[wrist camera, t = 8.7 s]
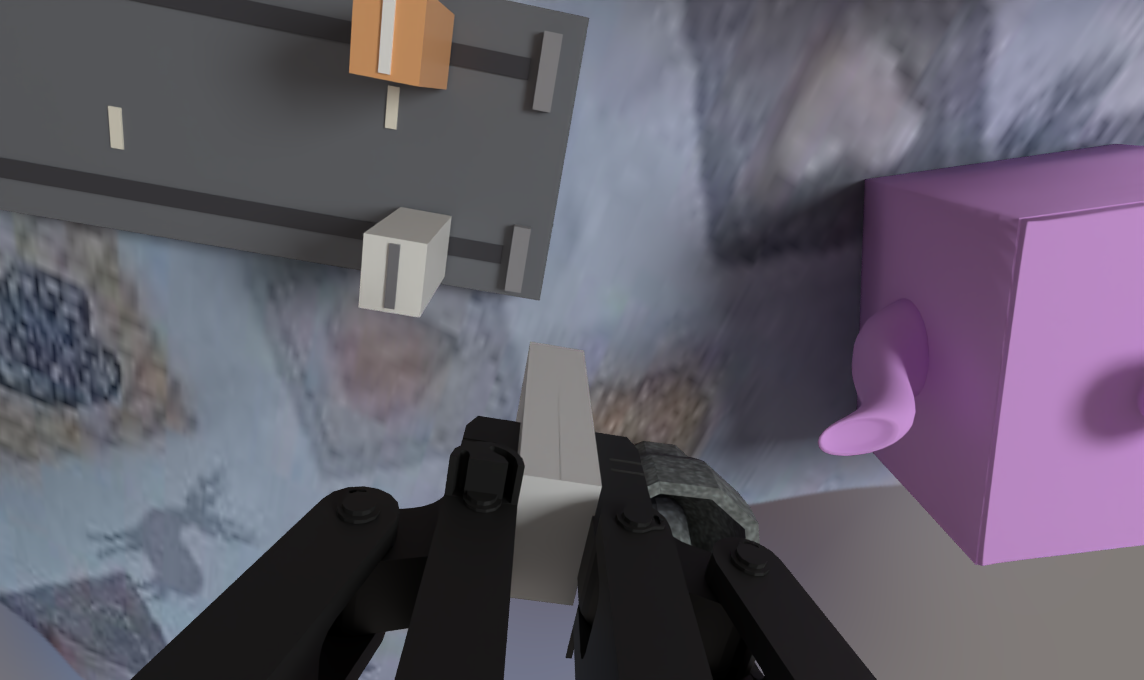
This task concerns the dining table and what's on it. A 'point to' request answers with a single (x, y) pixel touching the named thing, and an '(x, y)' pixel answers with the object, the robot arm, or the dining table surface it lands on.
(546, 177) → the console
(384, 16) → the orange fader
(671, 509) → the mortar and pestle
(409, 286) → the block
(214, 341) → the dining table surface
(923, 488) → the teapot
